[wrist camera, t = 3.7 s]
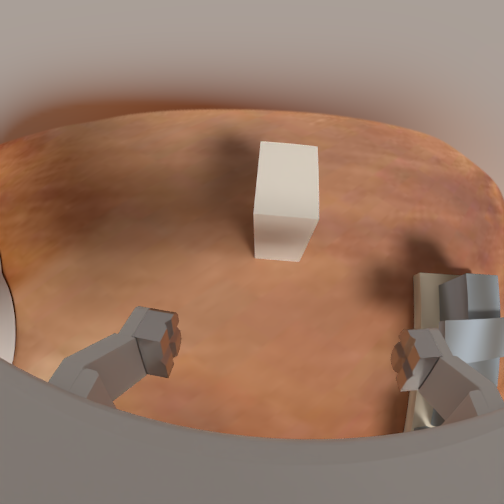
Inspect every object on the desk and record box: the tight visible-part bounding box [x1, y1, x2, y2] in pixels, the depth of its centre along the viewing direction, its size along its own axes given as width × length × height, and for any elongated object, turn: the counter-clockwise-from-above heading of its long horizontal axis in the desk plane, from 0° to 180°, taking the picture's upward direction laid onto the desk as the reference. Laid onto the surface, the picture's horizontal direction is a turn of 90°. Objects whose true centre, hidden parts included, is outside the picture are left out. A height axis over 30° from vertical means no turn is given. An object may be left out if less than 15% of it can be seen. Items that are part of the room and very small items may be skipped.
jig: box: [404, 273, 504, 432], centre depth 16 cm, size 10×21×6 cm, turn 175°
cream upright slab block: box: [253, 141, 319, 262], centre depth 20 cm, size 4×5×8 cm
